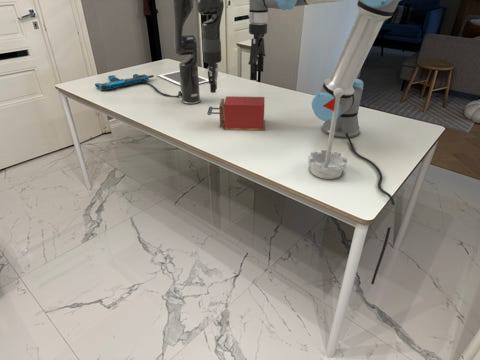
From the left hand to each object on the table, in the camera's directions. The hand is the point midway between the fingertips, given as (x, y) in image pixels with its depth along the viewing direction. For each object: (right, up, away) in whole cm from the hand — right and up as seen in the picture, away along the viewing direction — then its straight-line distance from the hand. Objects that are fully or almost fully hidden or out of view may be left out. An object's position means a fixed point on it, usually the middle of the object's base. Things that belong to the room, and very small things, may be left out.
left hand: (213, 90), depth 147 cm
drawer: (+8, -13, +8) cm, 17 cm away
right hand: (+19, +7, +2) cm, 20 cm away
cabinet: (+13, -14, +8) cm, 21 cm away
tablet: (-24, +26, +68) cm, 77 cm away
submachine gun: (-60, +21, +61) cm, 89 cm away
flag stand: (+42, -36, -26) cm, 61 cm away
